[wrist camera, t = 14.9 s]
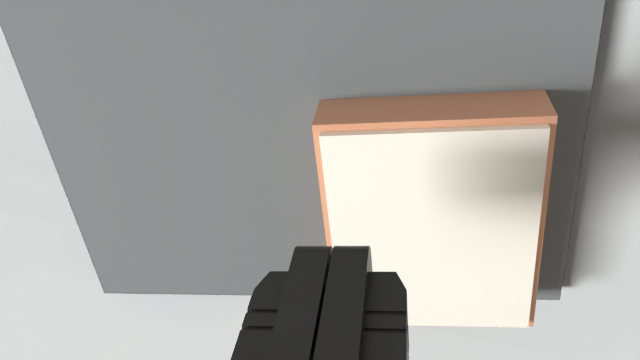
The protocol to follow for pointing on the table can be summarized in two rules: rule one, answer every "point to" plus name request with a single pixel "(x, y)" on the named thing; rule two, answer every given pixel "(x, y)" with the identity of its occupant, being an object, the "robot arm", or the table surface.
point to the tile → (443, 197)
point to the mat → (265, 115)
